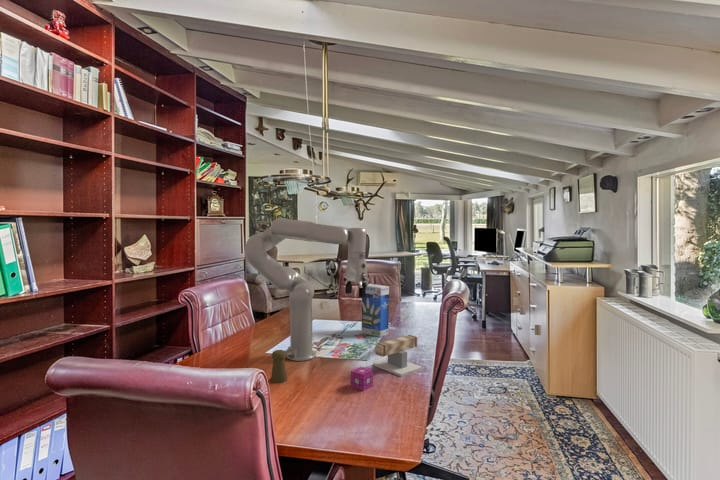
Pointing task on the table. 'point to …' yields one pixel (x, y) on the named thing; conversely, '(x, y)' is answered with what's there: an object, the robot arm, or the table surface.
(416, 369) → the ridge block
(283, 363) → the cork
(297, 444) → the table surface
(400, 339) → the beech bar
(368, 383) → the puzzle toy
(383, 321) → the string lights box
